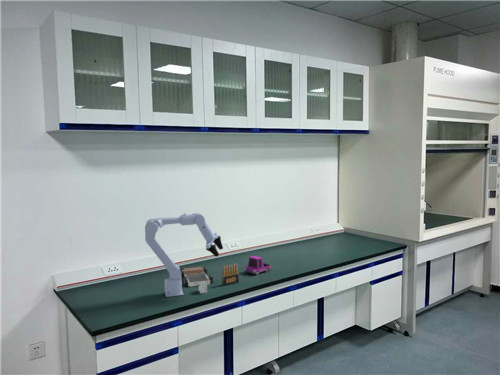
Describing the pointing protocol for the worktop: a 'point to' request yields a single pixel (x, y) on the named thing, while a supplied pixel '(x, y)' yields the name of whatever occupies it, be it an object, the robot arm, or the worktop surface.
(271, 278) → the worktop surface
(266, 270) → the toy truck
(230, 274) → the ammunition clip
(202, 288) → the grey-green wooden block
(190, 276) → the chassis
